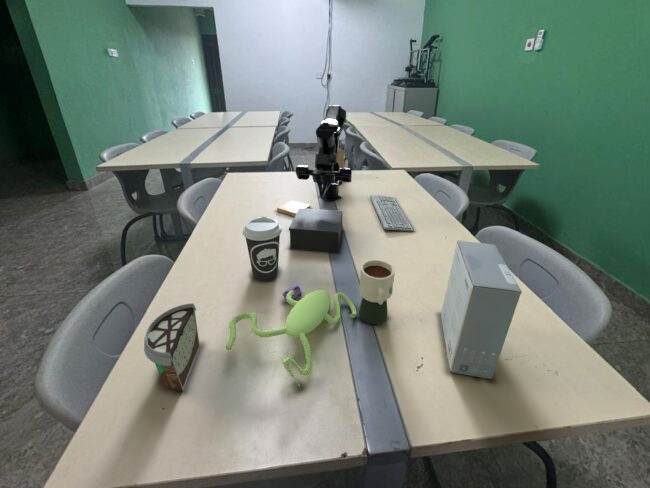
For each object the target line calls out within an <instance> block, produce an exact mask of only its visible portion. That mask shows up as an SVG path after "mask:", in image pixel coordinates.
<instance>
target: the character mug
mask: <svg viewBox="0 0 650 488" xmlns="http://www.w3.org/2000/svg"><path fill="white" fill-rule="evenodd" d="M395 273H396V269H395V267H394V266H393V265H392V264H390V262H388V261H385V260H382V259H369V260H367V261H364V262H363V263H362V264H361V266H360V275H359V276H360V277H359V288H358V292H359V295H360V296H361V301H360V305H359V310H358V311H359V312H358V313H359V315H358V316H359V318H360V319H361V320H362V321H363V322H365V323H368V324H370V325H371V324H372V325H382V324H383V323H385V322H386V321H387V319H388V300H389V299H390V298H391V297H392V295H393V289H394V282H395Z"/></svg>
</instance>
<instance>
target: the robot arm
mask: <svg viewBox="0 0 650 488" xmlns="http://www.w3.org/2000/svg"><path fill="white" fill-rule="evenodd" d="M345 123H347V110H345V109H344V108H342V105H340V104H330V105H328V108H327V109H326V110H325V120H322V121H321V122H320V125H318V127H317V128H316V130H315V136H316V142H317V145H318V152H317V153H315V156H314V157H315V159H314V167H315V168H313V169H310V168H309V165H303V164H301V165H300V164H298V165H296V167H295V171H294V172H295V175H296V178H297V179H298V180H306V181H308V179H310V176H311V177H312V180H313V183H316V185H317V189H318V193H319V198H322V199H324V200H326V201H328V202H331V201H334V200H338V199H341V198H342V196H341V195H339V194H340V193H339V190H340V187H341V186H342V185H343V183H352V177H353V170H352V169H351V168H349V167H345V168H339V164H338V163H337V156H338V150H339V146H340V145H339V144H340V137H341V135H342V130H343V129H344V128H345Z"/></svg>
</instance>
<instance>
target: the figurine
mask: <svg viewBox="0 0 650 488" xmlns="http://www.w3.org/2000/svg"><path fill="white" fill-rule="evenodd" d="M281 294H282V297H283V300H284V301H285V303H288V304H289V305H291V306H293V307H292V308H291V310H290V311H289V313H288V315H287V317H286V321H285V323H284V326H283V327H280V328H276V329H269V330H262V329H260V328H259V327H258V325H257V324H258V317H257V314H256V313H254V312H250V311H246V312H242V313H239V314H238V315H236V316H234V317H233V318H232V319H231V320H230V321H229V324H228V325H229V326H228V328H229V332H230V333H229V338H228V341H227V342H226V345H225V349H226V350H227V351H229V352H230V351H231V350H232V348H233V346H234V345H235V341H236V338H237V327H236V326H237V325H236V324H237V323H238V322H240V321H242V320H245V319H250V320H251V326H250V328H251V332H252V333H253V334H255V336H258V337H259V338H271V337H276V336H282V335H284V334H286V335H287V336H289V337H291V338H295V339H296V338H299V340H300V342H301V344H302V346H303V350H304V356H305V361H306V364H305V368H304V369H302V368H301V367H300V366H299V365H298V363H297V362H296V360H294V359H293V358H291V357H290V356H288V357H286V358H285V359H284V360H283V361H282V363H283V366H284V368H285V370H286V371H287V373H288V374H289V375H290V376H291V377H292V378H293V380H294V381H295V382H296V384H297V385H298V386H299V388H301V385H300V383H299V381H298V380H297V378H296V377H295V375H294V374H293V371H292V370H291V367H290V364H294V366H295V367H296V369H297V371H298V372H299V374H300V375H301V376H304V377H308V376H309V375H310V374H311V372H312V369H313V357H312V351H311V346H310V343H309V340H308V338H307V336H306V335H307V334H309V333H311V332H313V330H316V328H317V327H318V326H319V325H320V324H321V323H322V322H323V320H325V321H327V322H328V323H329V324H331V325H336V324H338V323H339V321H340V317H341V305H340V301H339V298H340V299H341V300H343V301H344V302H345V303H346V304H347V306H348V307H349V308H350V311H351V313H350V314H349V318H351V319H355V318H356V317H357V314H358V310H357V308H356V305H355V304H354V303H353V301H352V300H351V299H350V297H348V296H347V294H344V293H343V292H336V293H335V294H334V296H333V304H334V311H335V312H334V318H333V317H332V316H330V314H328V312H329V310H330V308H331V303H332V298H331V296H330V293H329V292H328V291H327V290H325V289H316V290H313V291H311V292H309V293H307V294H306V295H305V296H303V297H302V295H303V292H302V290H301V287H300V285H299V283H296V284H295V285H293V286H291V287H290V288H288V289H286V290H285V291H283V292H282V293H281ZM299 297H302V298H301V299H299V300H295V299H296V298H299Z"/></svg>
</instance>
